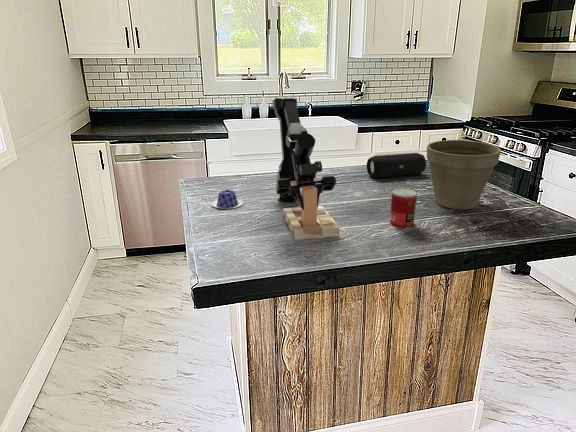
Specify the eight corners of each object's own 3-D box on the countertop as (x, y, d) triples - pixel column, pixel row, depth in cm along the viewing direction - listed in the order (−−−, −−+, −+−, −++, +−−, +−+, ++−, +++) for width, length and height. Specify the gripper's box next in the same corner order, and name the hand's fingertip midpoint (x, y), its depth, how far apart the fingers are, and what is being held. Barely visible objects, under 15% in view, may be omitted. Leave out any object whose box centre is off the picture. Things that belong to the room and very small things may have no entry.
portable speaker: (374, 180, 197) (375, 158, 193) (365, 175, 206) (366, 153, 202) (425, 176, 203) (428, 155, 199) (414, 171, 212) (416, 150, 208)
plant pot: (453, 219, 153) (461, 157, 145) (407, 198, 174) (413, 143, 166) (506, 208, 162) (517, 150, 154) (457, 190, 183) (464, 137, 175)
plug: (301, 224, 144) (301, 186, 139) (313, 223, 145) (313, 185, 140) (304, 229, 140) (304, 190, 136) (316, 228, 141) (317, 189, 136)
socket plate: (283, 216, 156) (283, 207, 155) (321, 213, 158) (322, 204, 157) (295, 240, 137) (295, 230, 136) (339, 236, 140) (339, 226, 138)
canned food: (409, 229, 145) (412, 197, 141) (386, 224, 149) (388, 193, 145) (416, 221, 151) (420, 190, 147) (393, 217, 155) (396, 187, 151)
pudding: (222, 198, 176) (221, 185, 174) (249, 202, 172) (248, 189, 170) (205, 207, 166) (204, 194, 164) (233, 212, 161) (233, 198, 159)
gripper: (276, 153, 136) (284, 199, 130) (335, 150, 139) (345, 195, 133) (273, 171, 146) (279, 215, 140) (327, 168, 150) (336, 210, 143)
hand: (310, 208), depth 139 cm, fingers closed on plug, 4 cm apart
